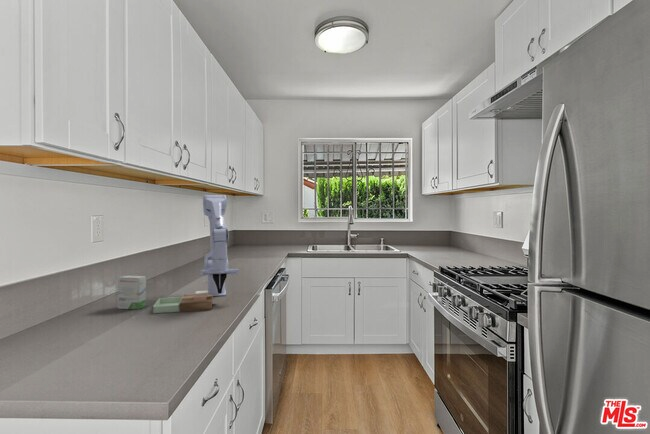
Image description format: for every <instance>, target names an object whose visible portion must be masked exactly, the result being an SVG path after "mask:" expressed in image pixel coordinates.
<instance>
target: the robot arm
mask: <svg viewBox="0 0 650 434" xmlns="http://www.w3.org/2000/svg"><path fill="white" fill-rule="evenodd" d="M202 206H203V207H202V208H203V214H204V215H205V216H207V218H208V221H209V238H210V239H209V240H210V241H209V242H210V251H209V252H207V253H206V254H205V255H204V259H203V260H204V261H203V263H204V264H203V265H204V267H203V269H201V270H200V271H199V272H200V274H199V276H200V277H203V276H207V291H208V294H213V297H221V296H226V295H227V289H226V279H227V277H228V275H239V272H240V271H239V268H229V258H228V243H229V229H228V227H227V226H226V219H225V218H224V215H226V214H225V213H226V209H227V195H226V194H203V196H202Z"/></svg>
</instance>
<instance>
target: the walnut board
mask: <svg viewBox="0 0 650 434" xmlns="http://www.w3.org/2000/svg"><path fill="white" fill-rule="evenodd" d="M194 295H195V294H184V295H183V296H182V297H183V298H182V300H181V302H180V303H179V310H180V312H196V311H197V312H198V311H211V310H212V307H213V302H214V296H213V294H208V297H207V301H200V302H194ZM180 312H179V313H180Z"/></svg>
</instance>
